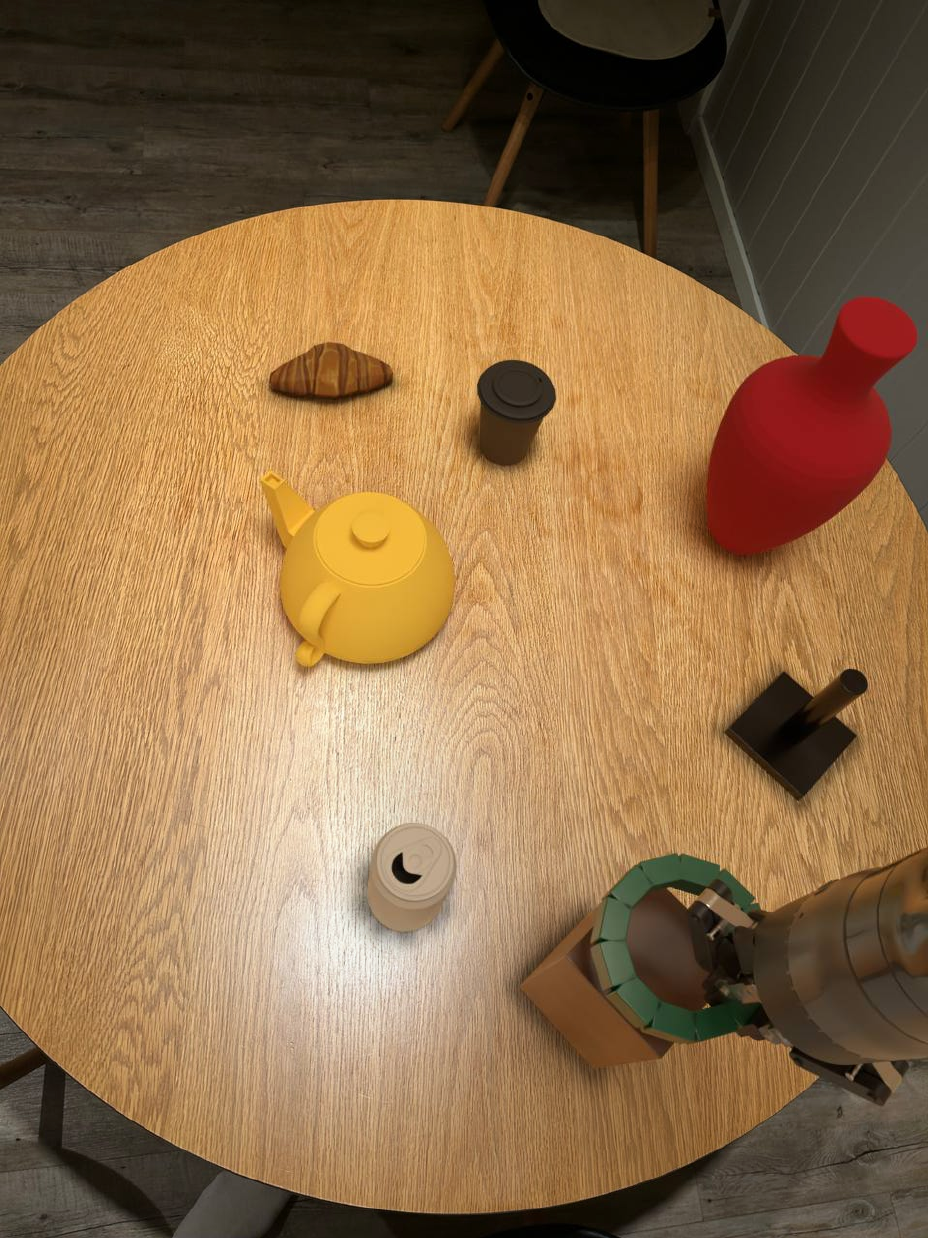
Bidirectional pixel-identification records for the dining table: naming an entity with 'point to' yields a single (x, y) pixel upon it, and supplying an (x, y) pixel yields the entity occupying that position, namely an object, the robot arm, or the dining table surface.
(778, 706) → the post
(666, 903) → the brown rectangular block
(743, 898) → the ring
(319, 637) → the teapot
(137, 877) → the dining table surface
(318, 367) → the croissant
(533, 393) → the coffee cup
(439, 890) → the beverage can
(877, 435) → the vase
